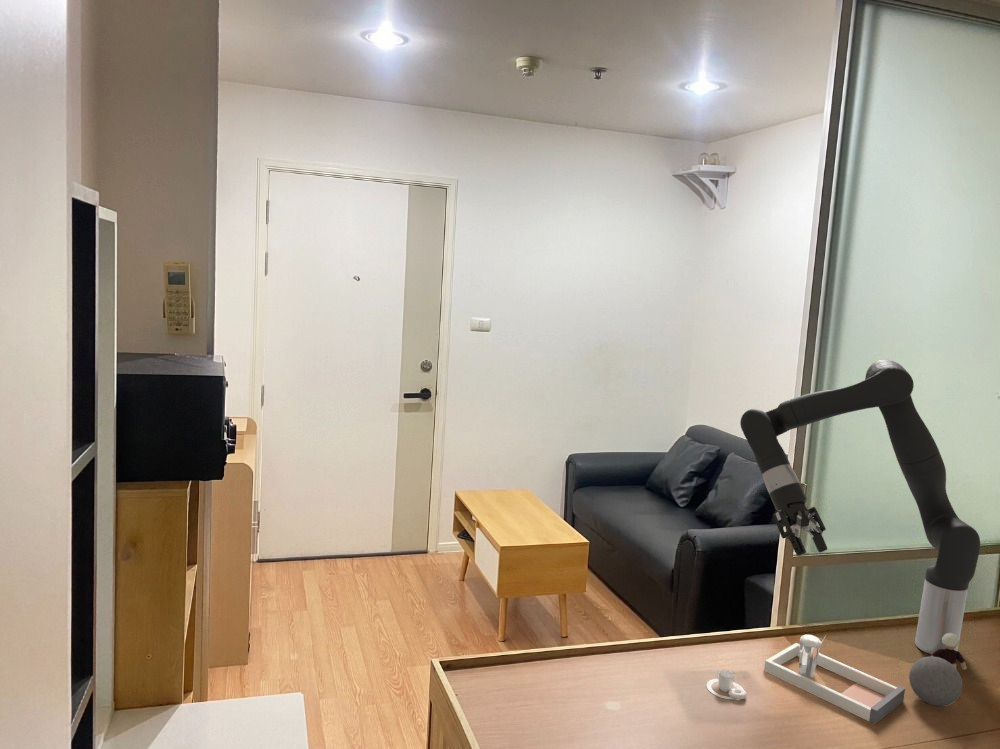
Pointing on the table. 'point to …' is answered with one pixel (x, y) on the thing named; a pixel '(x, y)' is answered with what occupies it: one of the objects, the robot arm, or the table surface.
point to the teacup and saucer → (727, 685)
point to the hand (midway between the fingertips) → (812, 552)
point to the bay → (851, 699)
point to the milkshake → (809, 655)
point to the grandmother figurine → (950, 651)
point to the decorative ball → (935, 681)
